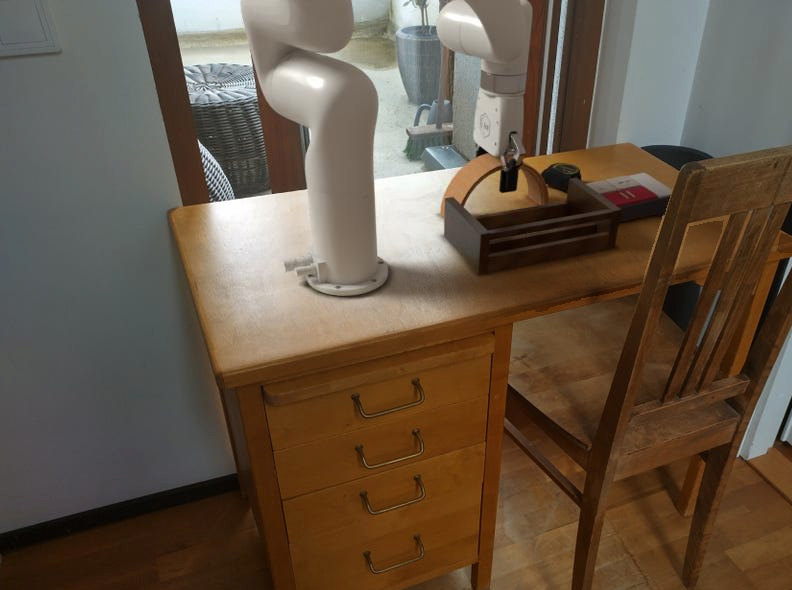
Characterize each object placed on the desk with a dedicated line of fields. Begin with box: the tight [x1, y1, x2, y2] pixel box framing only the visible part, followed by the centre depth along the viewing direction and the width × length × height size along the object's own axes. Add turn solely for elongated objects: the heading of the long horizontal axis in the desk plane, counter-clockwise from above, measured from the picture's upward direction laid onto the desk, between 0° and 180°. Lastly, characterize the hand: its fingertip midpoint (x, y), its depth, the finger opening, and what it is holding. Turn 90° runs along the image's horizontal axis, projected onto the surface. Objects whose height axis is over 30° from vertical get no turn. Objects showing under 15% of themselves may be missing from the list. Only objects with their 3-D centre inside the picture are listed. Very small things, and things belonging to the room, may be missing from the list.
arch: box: [439, 153, 550, 219], centre depth 128 cm, size 6×20×10 cm, turn 119°
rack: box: [443, 178, 621, 275], centre depth 120 cm, size 26×14×7 cm, turn 114°
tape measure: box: [540, 162, 582, 192], centre depth 140 cm, size 7×7×4 cm
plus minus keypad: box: [585, 172, 673, 224], centre depth 133 cm, size 11×4×15 cm
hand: (495, 181), depth 127 cm, fingers open, 9 cm apart
